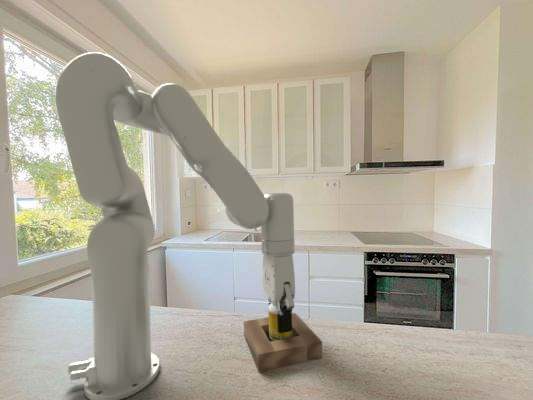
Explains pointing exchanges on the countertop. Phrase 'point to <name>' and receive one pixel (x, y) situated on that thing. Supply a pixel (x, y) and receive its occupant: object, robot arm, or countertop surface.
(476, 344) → the countertop surface
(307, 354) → the socket block
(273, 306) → the supplement bottle
